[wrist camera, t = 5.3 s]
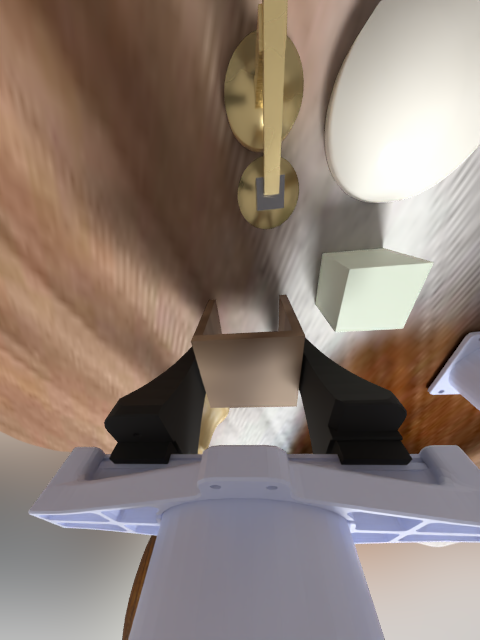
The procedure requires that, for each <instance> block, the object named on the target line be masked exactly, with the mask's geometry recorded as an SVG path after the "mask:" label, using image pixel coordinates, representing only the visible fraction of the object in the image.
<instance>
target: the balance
mask: <svg viewBox="0 0 480 640" xmlns="http://www.w3.org/2000/svg"><path fill="white" fill-rule="evenodd" d="M303 84H304V80H303V70H302V64H301V60H300V57H299V54H298V52H297V50H296V48H295V46H294V44H293V43H292V41H291V40H290V39H289V38H288V37H287V0H262V4H258V19H257V30H255V31H253V32H251V33H250V34H249V35H247V36H246V37H245V38H244V39H243V40H242V41H241V42H240V44H239V45H238V47H237V48H236V50H235V51H234V53H233V55H232V58H231V60H230V62H229V66H228V69H227V73H226V78H225V87H224V98H225V107H226V112H227V117H228V121H229V124H230V127H231V130H232V132H233V134H234V136H235V137H236V139H237V140H238V141H239V143H240V144H242V145H243V146H244V147H245V148H247V149H249V150H251V151H254V152H263V156H262V157H259V158H257V159H256V160H254V161H253V162H252V163H251V164H250V165H249V166H248V167H247V168H246V170H245V171H244V173H243V175H242V177H241V179H240V182H239V186H238V204H239V208H240V210H241V213H242V215H243V216H244V218H245V219H246V220H247V221H248V222H249V223H250V224H251V225H253V226H254V227H257V228H260V229H272V228H275V227H277V226H279V225H281V224H282V223H284V222H285V221H286V220H287V219H288V218H289V216H290V215H291V214H292V212H293V210H294V208H295V206H296V203H297V200H298V194H299V183H298V178H297V175H296V172H295V170H294V168H293V167H292V166H291V164H290V163H289V162H288V161H287V160H285V159H284V158H282V157H281V142H282V141H283V140H284V139H285V137H286V136H287V135H288V133H289V131H290V130H291V128H292V126H293V124H294V122H295V120H296V118H297V115H298V113H299V110H300V106H301V102H302V97H303Z"/></svg>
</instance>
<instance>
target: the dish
mask: <svg viewBox="0 0 480 640" xmlns="http://www.w3.org/2000/svg"><path fill="white" fill-rule="evenodd" d="M479 145H480V0H381V1H380V3H379V4H378V5H377V7H376V8H375V10H374V11H373V13H372V14H371V16H370V18H369V19H368V21H367V22H366V24H365V26H364V27H363V29H362V30H361V32H360V33H359V35H358V37H357V38H356V40H355V41H354V43H353V44H352V46H351V48H350V50H349V52H348V54H347V56H346V58H345V59H344V61H343V64H342V66H341V68H340V71H339V73H338V75H337V78H336V81H335V84H334V87H333V90H332V93H331V97H330V101H329V105H328V109H327V116H326V122H325V151H326V158H327V162H328V166H329V169H330V172H331V174H332V176H333V178H334V180H335V181H336V183H337V185H338V186H339V187H340V188H341V189H342V190H343V191H344V192H345V193H346V194H348V195H349V196H350V197H352V198H354V199H356V200H359V201H363V202H369V203H381V202H394V201H400V200H404V199H407V198H410V197H413V196H415V195H417V194H420V193H422V192H424V191H426V190H427V189H429V188H431V187H433V186H434V185H436V184H437V183H439V182H440V181H442V180H443V179H444V178H446V177H447V176H448V175H449V174H451V173H452V172H453V171H454V170H455V169H456V168H458V167H459V166H460V165H461V164H462V163H463V162H464V161H465V160H466V159H467V158H468V157H469V156H470V155H471V154H472V153H473V151H474V150H475V149H476V148H477V147H478V146H479Z"/></svg>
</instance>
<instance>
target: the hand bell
mask: <svg viewBox="0 0 480 640" xmlns="http://www.w3.org/2000/svg"><path fill="white" fill-rule="evenodd" d="M228 413H229V408H210V405H209V401H208V398H207V394H206V396H205V401H204V407H203V413H202V421H201V428H200V437H199V446H198V454H202V453H203V451H204V450H206V449H207V448H208V447H209V443H210V440H211V437H212V435H213V432H214V430H215V428H216V427H217V425H218V424H220V423H221V422H222V421H223V420H224V419H225V418H226V417H227V415H228ZM156 538H157V536H155V535H152V536H151V538H150V540H149V542H148V544H147V546H146V549H145V551H144V554H143V557H142V559H141V562H140V565H139V568H138V571H137V574H136V577H135V580H134V583H133V587H132V591H131V594H130V598H129V602H128V607H127V612H126V616H125V623H124V629H123V638H122V640H128V638H129V635H130V631H131V628H132V624H133V620H134V617H135V613H136V610H137V606H138V602H139V599H140V595H141V592H142V588H143V584H144V581H145V577H146V574H147V570H148V566H149V563H150V559H151V556H152V552H153V548H154V545H155V541H156Z"/></svg>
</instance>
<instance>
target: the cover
mask: <svg viewBox="0 0 480 640" xmlns="http://www.w3.org/2000/svg"><path fill="white" fill-rule="evenodd" d="M304 342H305V334H304V332H303V330H302V328H301V326H300V323H299V321H298V319H297V317H296V315H295V313H294V310H293V308H292V306H291V304H290V302H289V300H288V297H287V295H279V327H278V331H274V332H255V333H236V334H222V333H221V327H220V322H219V316H218V310H217V305H216V299H214V300H209V301H208V304H207V306H206V308H205V310H204V313H203V315H202V317H201V320H200V322H199V324H198V327H197V329H196V331H195V333H194V336H193V338H192V340H191V343H192V347H193V350H194V353H195V357H196V360H197V364H198V367H199V370H200V374H201V377H202V381H203V384H204V387H205V391H206V394H207V398H208V401H209V405H210V408H238V407H290V406H297V398H298V390H299V382H300V374H301V366H302V358H303V350H304Z"/></svg>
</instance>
